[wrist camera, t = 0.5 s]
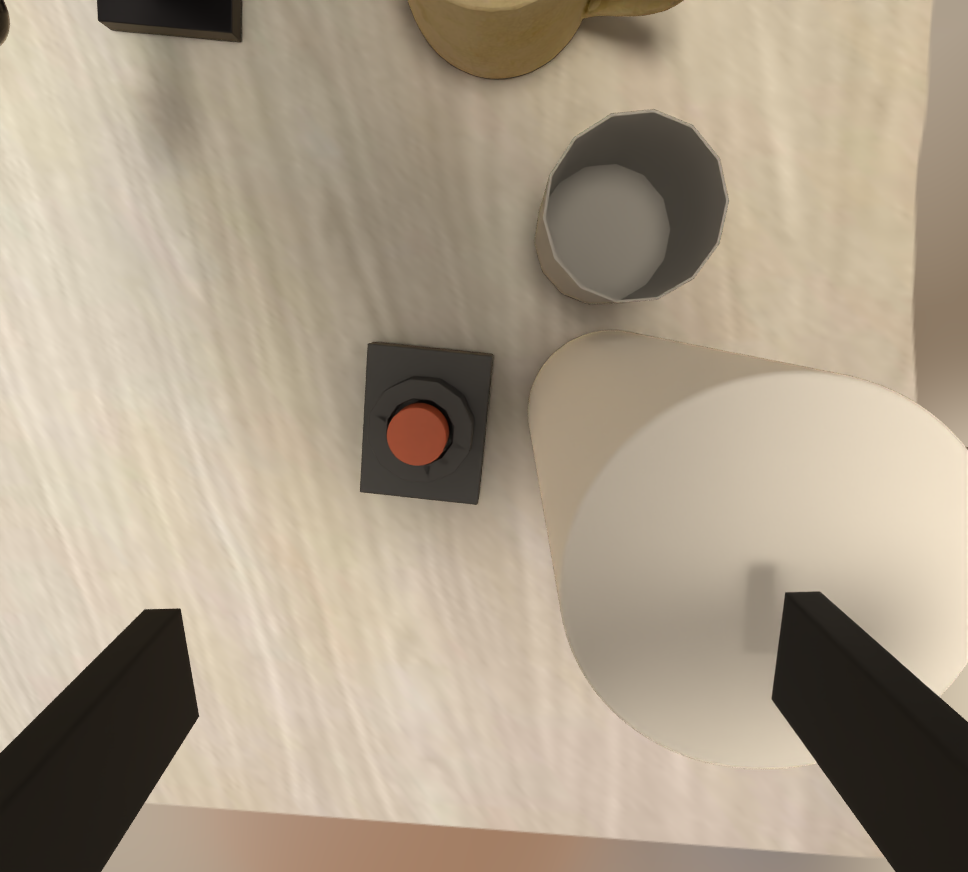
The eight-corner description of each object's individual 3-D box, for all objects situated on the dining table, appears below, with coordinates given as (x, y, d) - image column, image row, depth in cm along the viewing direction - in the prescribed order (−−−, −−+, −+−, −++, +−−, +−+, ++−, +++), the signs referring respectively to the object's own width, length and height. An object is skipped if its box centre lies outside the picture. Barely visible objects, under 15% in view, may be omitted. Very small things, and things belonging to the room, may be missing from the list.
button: (394, 399, 36) (388, 404, 34) (451, 405, 36) (448, 410, 34) (390, 455, 37) (384, 462, 35) (446, 461, 37) (443, 468, 35)
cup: (537, 308, 37) (547, 308, 28) (529, 172, 36) (537, 121, 26) (670, 297, 37) (728, 293, 27) (668, 159, 35) (729, 101, 25)
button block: (373, 341, 38) (360, 344, 35) (493, 353, 38) (491, 358, 35) (365, 484, 40) (352, 501, 37) (478, 497, 40) (476, 514, 37)
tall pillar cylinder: (564, 305, 37) (671, 299, 13) (716, 365, 38) (1099, 471, 13) (504, 454, 39) (496, 690, 15) (647, 509, 40) (865, 826, 16)
